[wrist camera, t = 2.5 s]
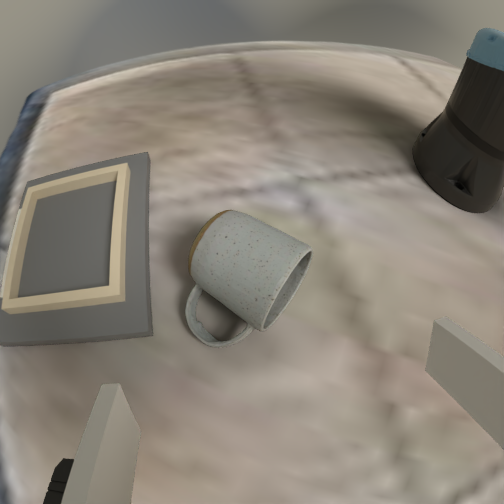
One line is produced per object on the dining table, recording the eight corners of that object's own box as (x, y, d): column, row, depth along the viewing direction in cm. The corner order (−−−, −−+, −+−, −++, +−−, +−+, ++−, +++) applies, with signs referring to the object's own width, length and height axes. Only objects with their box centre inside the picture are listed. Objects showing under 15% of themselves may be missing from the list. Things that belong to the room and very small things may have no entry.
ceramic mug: (235, 234, 32) (232, 183, 25) (307, 276, 30) (323, 232, 23) (167, 318, 27) (141, 284, 21) (242, 371, 25) (239, 354, 18)
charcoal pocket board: (150, 160, 37) (145, 142, 34) (153, 335, 26) (143, 325, 24) (32, 188, 35) (22, 174, 33) (3, 346, 24) (-14, 338, 22)
